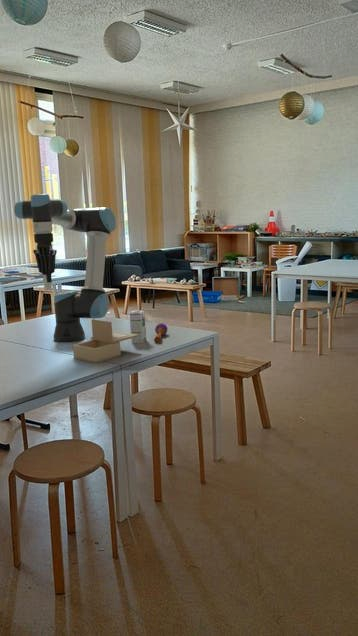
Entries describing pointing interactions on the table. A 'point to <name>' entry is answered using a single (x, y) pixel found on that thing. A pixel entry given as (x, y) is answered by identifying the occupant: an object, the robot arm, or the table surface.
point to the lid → (108, 332)
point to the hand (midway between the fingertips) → (48, 289)
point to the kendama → (160, 332)
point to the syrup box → (138, 326)
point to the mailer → (96, 351)
